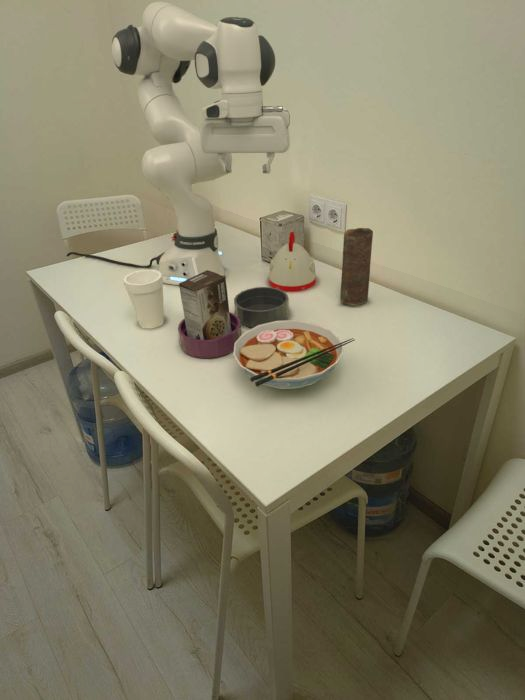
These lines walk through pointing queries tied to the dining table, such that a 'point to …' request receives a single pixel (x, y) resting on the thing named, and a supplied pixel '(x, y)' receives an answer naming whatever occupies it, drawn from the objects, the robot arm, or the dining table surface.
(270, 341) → the ramen bowl
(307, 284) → the white chicken egg cooker
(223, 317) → the printed food box
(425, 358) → the dining table surface
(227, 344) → the plum bowl
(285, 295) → the grey bowl
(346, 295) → the brown tall cylinder
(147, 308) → the foam cup
